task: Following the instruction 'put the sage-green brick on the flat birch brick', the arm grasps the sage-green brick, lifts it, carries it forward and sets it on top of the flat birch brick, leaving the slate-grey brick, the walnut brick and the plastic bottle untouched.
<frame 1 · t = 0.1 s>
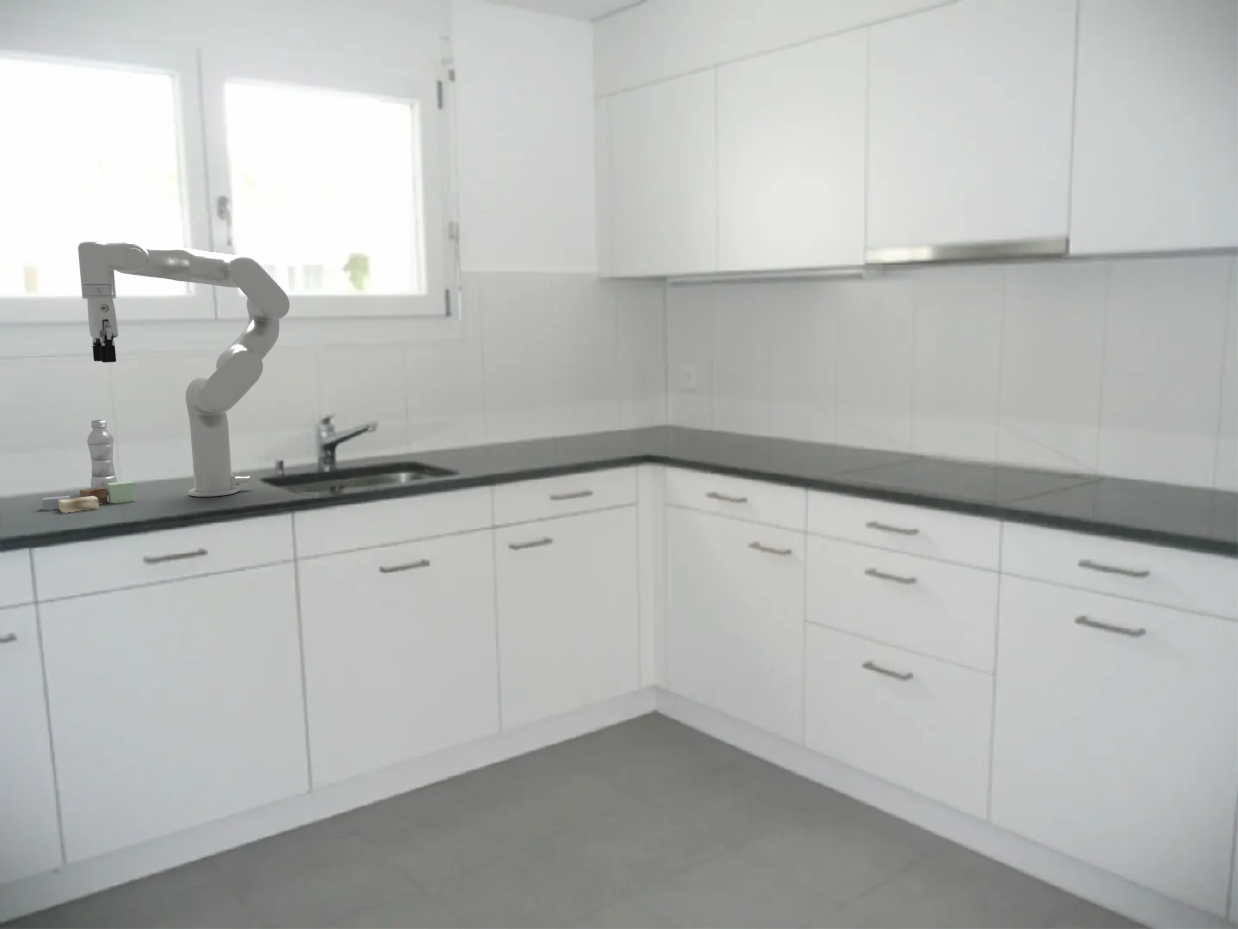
hand: (104, 361, 251), 37 cm above the worktop, tool pointing down, fingers open, 9 cm apart
birch brick: (79, 510, 251), on the worktop
slate brick: (57, 509, 252), on the worktop
plastic bottle: (105, 493, 274), on the worktop
walnut brick: (94, 504, 258), on the worktop
sage brick: (122, 501, 261), on the worktop
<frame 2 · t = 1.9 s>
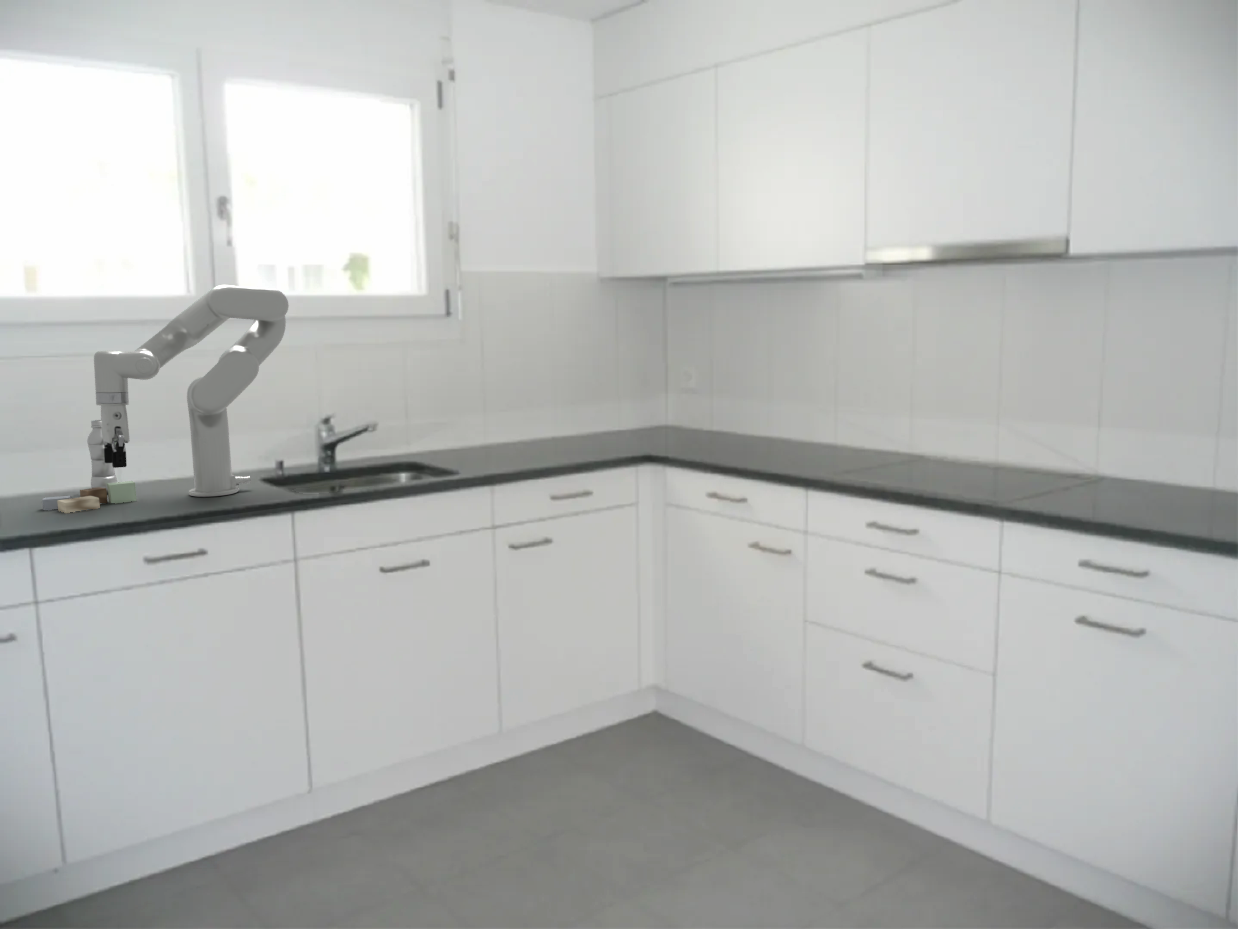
hand: (115, 464, 259), 10 cm above the worktop, tool pointing down, fingers open, 9 cm apart
nothing on the worktop moved.
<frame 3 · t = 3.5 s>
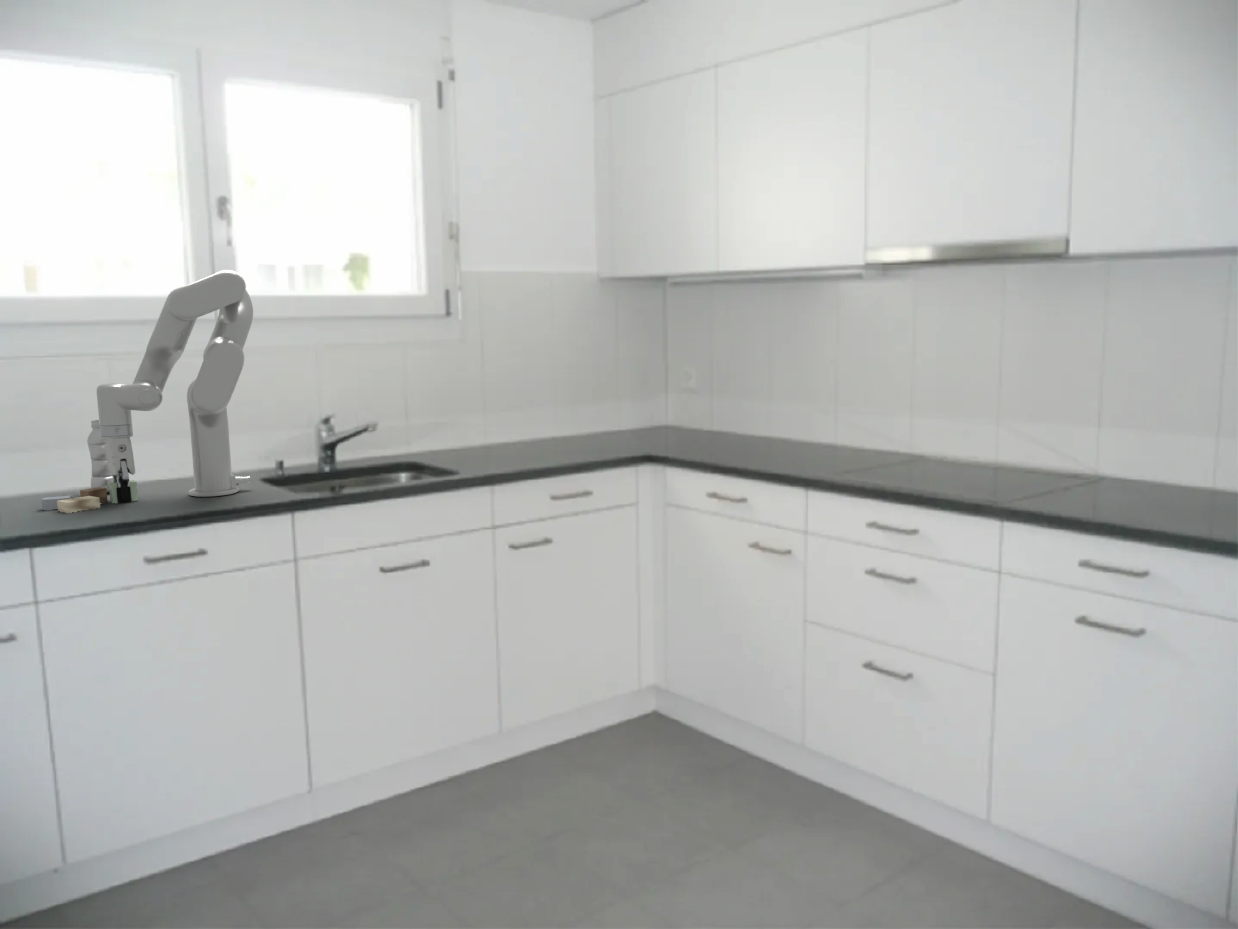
hand: (122, 500, 261), 0 cm above the worktop, tool pointing down, fingers closed on sage brick, 3 cm apart
sage brick: (124, 501, 261), on the worktop, touching gripper
everything else where it was.
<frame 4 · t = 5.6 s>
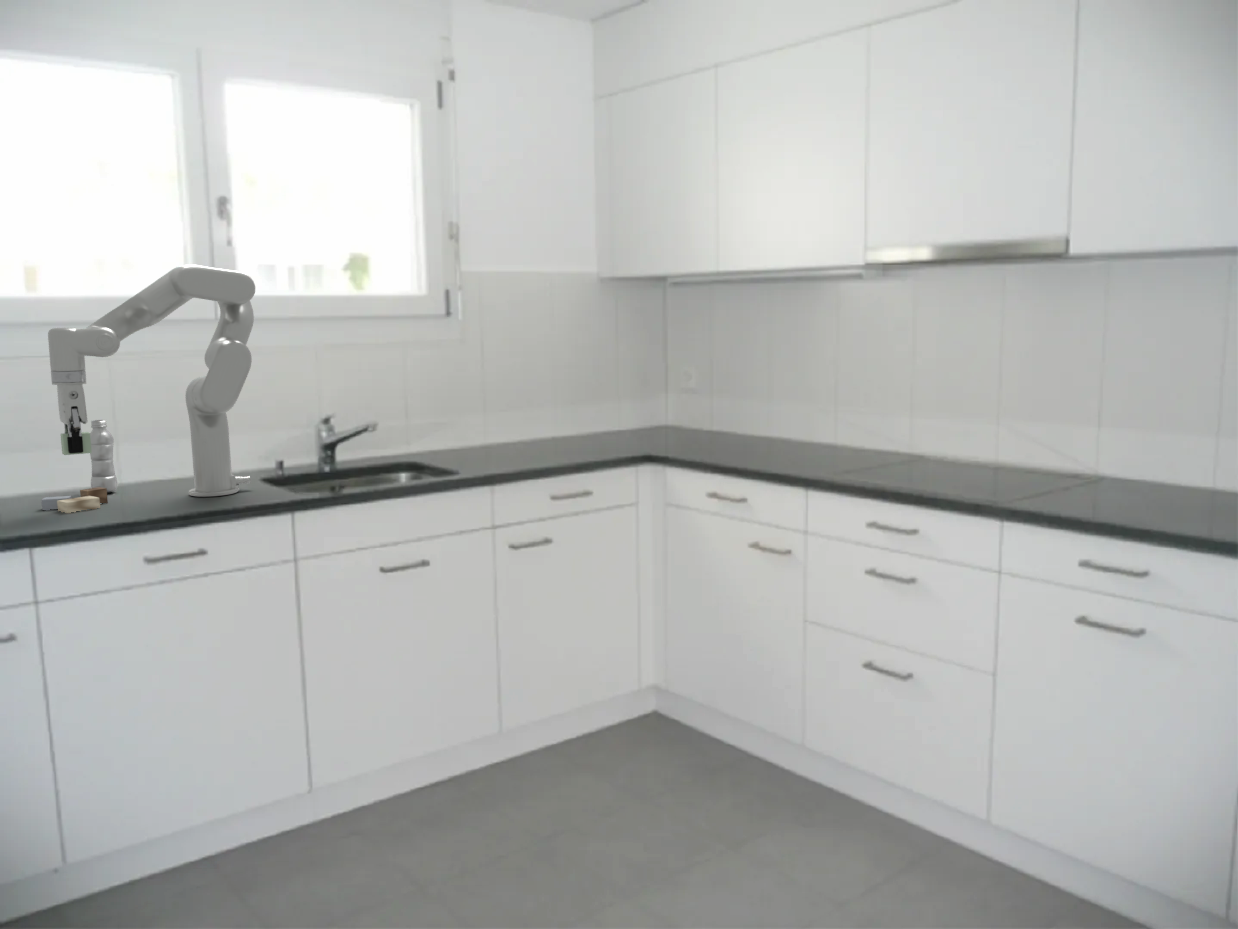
hand: (74, 451, 249), 15 cm above the worktop, tool pointing down, fingers closed on sage brick, 3 cm apart
sage brick: (77, 453, 249), point 14 cm above the worktop, touching gripper
everything else where it was.
when the fingers open (4 cm above the worktop, at t = 7.8 s): sage brick drops 1 cm, resting on birch brick.
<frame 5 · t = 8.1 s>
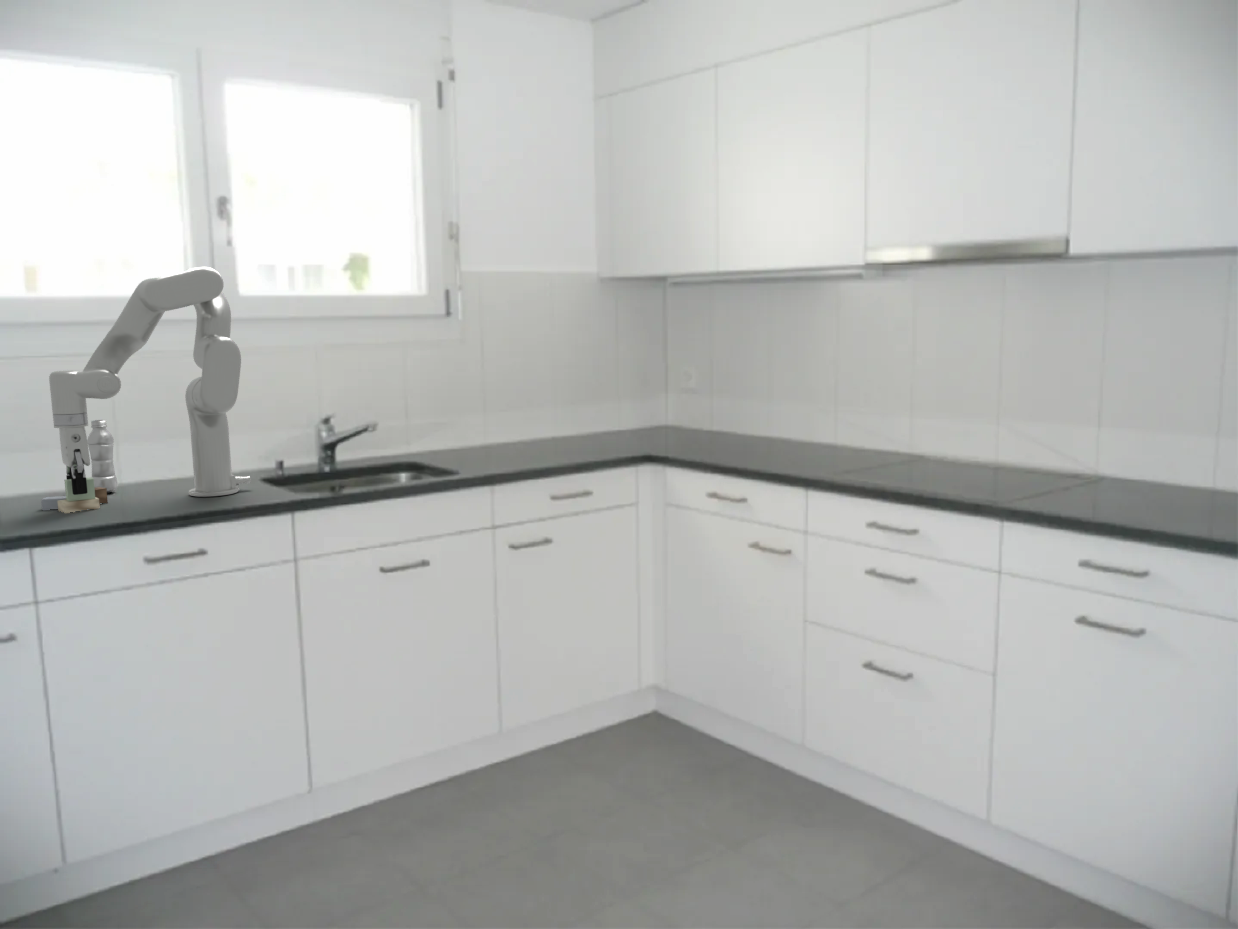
hand: (77, 491, 250), 5 cm above the worktop, tool pointing down, fingers open, 6 cm apart
birch brick: (79, 511, 251), on the worktop, touching sage brick
sage brick: (80, 499, 251), point 3 cm above the worktop, touching birch brick
everything else where it was.
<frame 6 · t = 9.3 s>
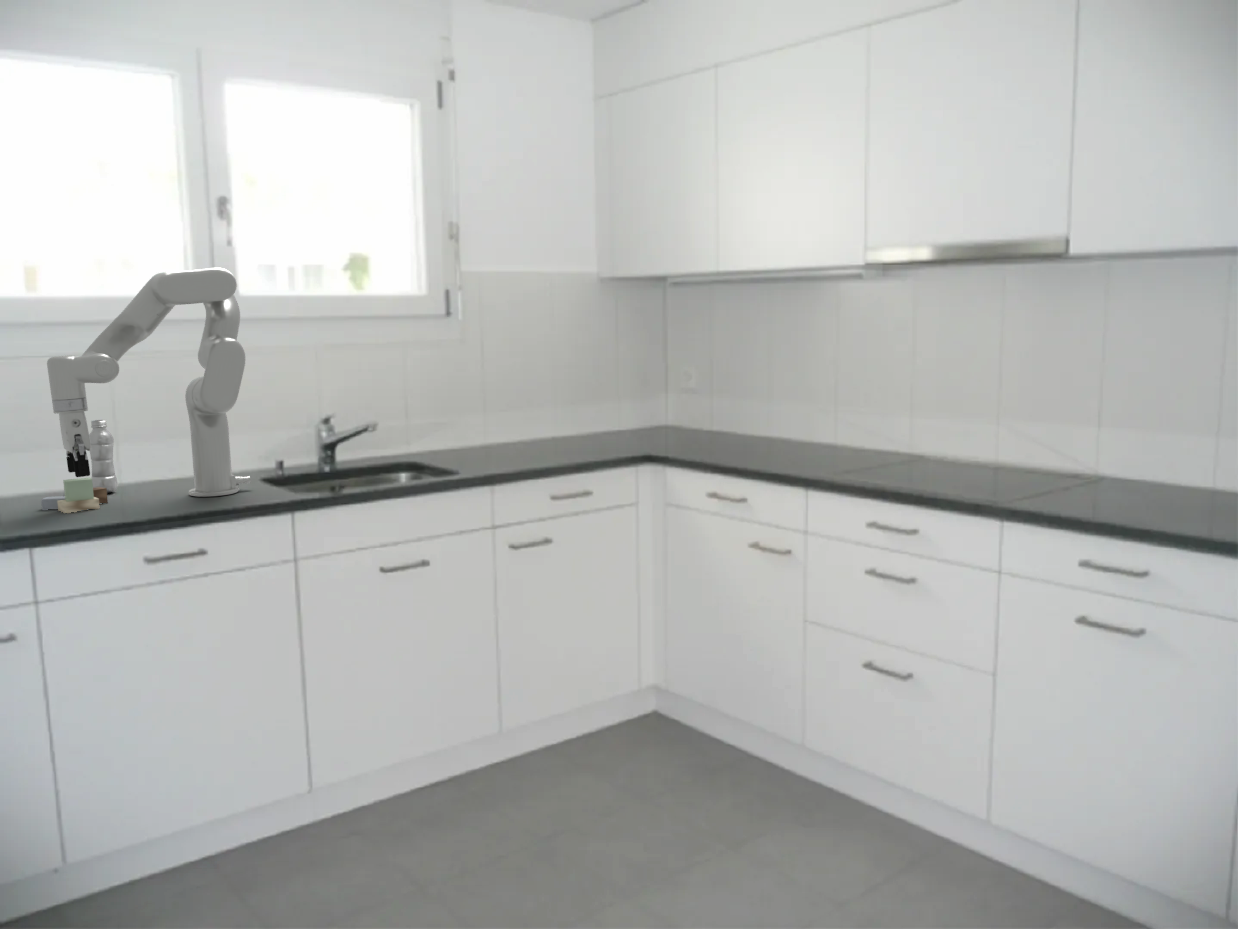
hand: (79, 474, 250), 9 cm above the worktop, tool pointing down, fingers open, 9 cm apart
nothing on the worktop moved.
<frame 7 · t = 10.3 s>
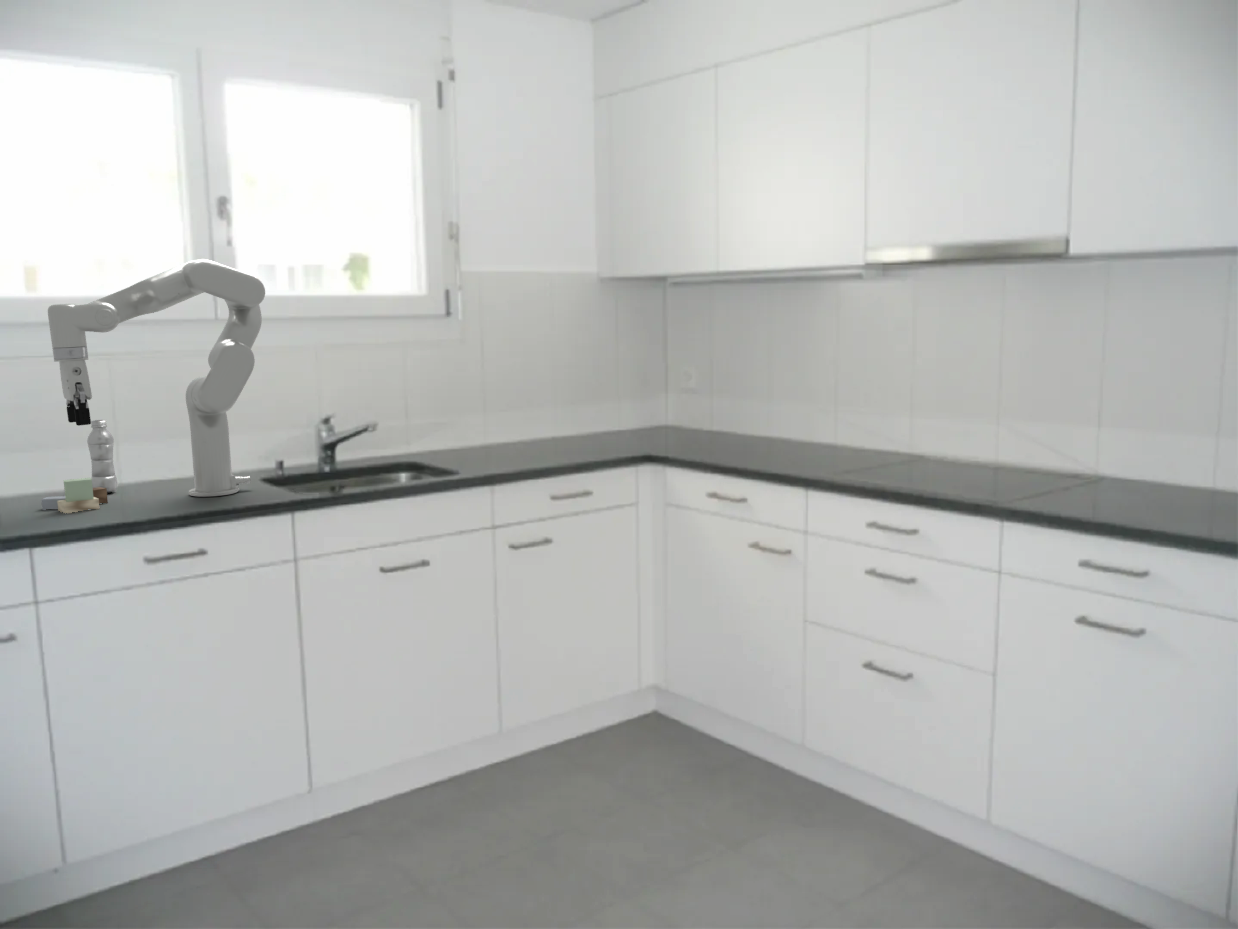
hand: (79, 423, 249), 21 cm above the worktop, tool pointing down, fingers open, 9 cm apart
nothing on the worktop moved.
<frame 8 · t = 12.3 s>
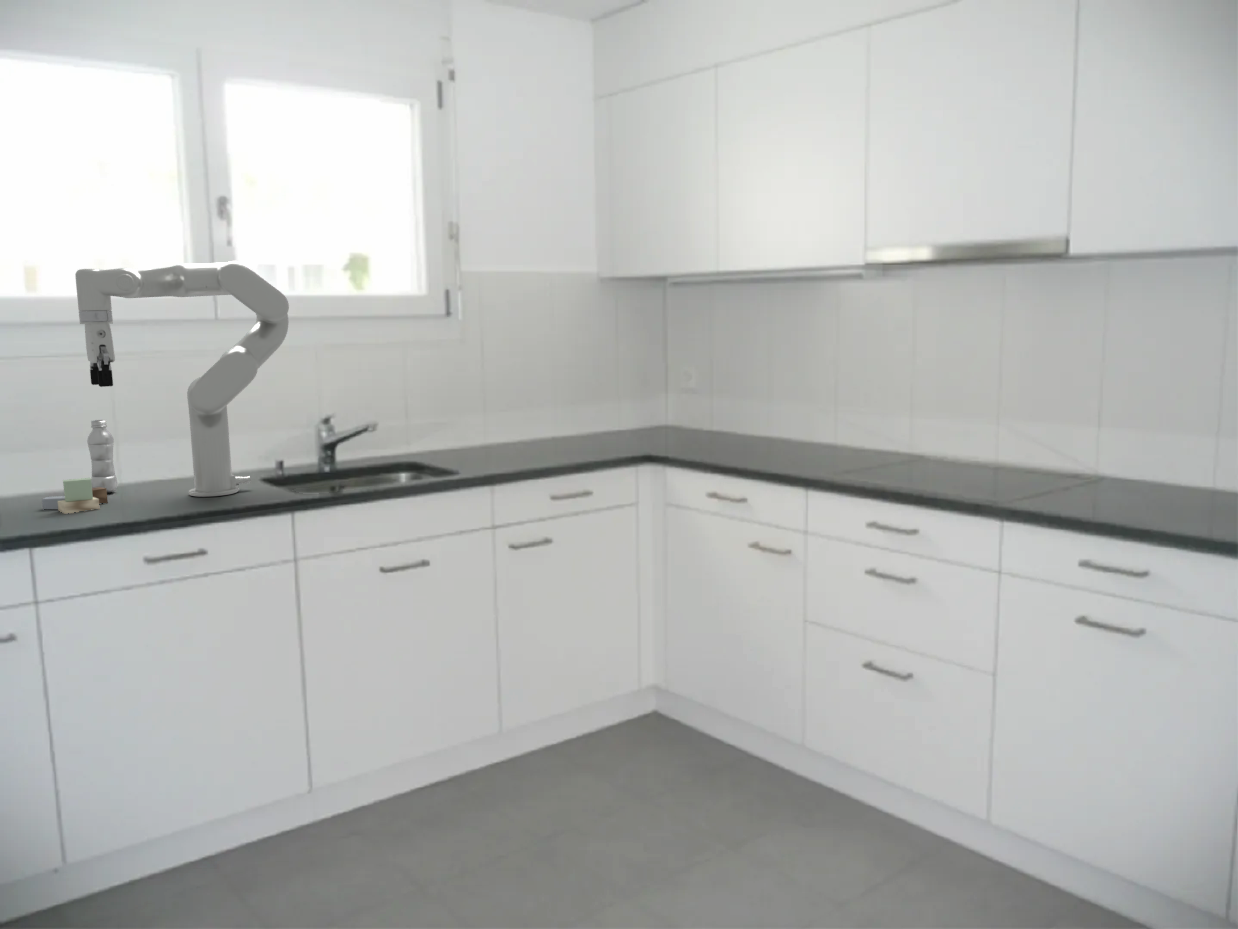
hand: (102, 385, 257), 30 cm above the worktop, tool pointing down, fingers open, 9 cm apart
birch brick: (79, 511, 250), on the worktop
sage brick: (78, 499, 250), point 3 cm above the worktop
everything else where it was.
at the end: sage brick 0.4 cm off-centre on the birch brick, point 3.1 cm above the birch brick's base; sage brick tilted 1°; walnut brick moved 0.2 cm from its start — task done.
